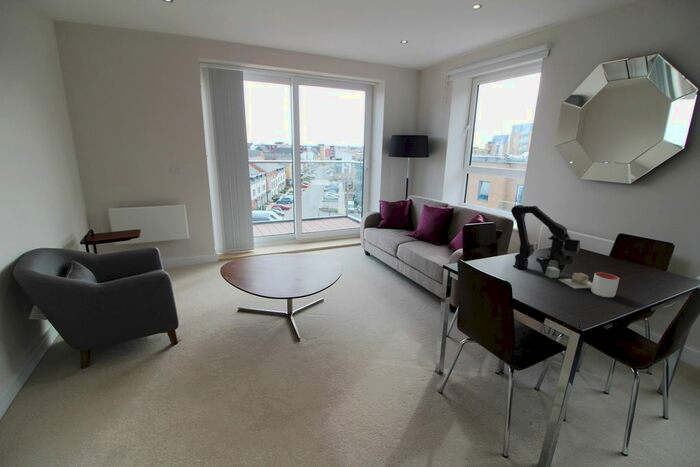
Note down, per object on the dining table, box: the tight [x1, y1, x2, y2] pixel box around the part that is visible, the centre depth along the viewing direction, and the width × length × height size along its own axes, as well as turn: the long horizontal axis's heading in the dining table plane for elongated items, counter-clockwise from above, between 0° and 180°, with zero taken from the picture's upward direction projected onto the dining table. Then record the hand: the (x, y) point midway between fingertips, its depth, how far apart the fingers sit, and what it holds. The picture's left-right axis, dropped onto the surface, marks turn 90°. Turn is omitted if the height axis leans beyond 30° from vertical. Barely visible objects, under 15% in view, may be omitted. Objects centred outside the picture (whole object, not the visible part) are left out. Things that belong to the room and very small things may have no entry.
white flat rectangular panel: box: [557, 278, 593, 289], centre depth 178 cm, size 16×12×1 cm
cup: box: [590, 272, 620, 298], centre depth 164 cm, size 10×10×10 cm
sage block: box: [544, 266, 561, 279], centre depth 187 cm, size 5×5×5 cm
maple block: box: [571, 272, 590, 285], centre depth 177 cm, size 5×5×5 cm
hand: (551, 273), depth 187 cm, fingers open, 9 cm apart
